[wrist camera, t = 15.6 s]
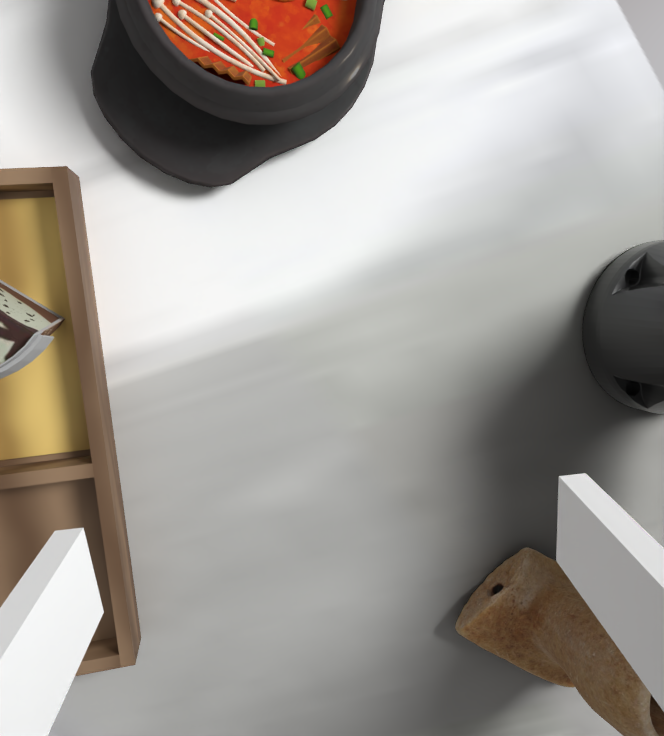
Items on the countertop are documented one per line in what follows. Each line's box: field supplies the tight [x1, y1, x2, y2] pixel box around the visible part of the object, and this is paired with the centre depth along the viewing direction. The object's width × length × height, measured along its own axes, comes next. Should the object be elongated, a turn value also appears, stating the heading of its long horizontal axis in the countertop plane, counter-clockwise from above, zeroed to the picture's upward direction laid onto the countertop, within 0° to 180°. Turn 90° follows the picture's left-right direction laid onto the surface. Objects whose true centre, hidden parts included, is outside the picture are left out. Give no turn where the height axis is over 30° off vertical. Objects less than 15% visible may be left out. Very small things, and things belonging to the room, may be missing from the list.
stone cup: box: [455, 547, 664, 736], centre depth 46 cm, size 15×12×15 cm
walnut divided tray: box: [0, 166, 141, 676], centre depth 41 cm, size 13×36×4 cm, turn 5°
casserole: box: [91, 0, 385, 187], centre depth 38 cm, size 25×19×8 cm
